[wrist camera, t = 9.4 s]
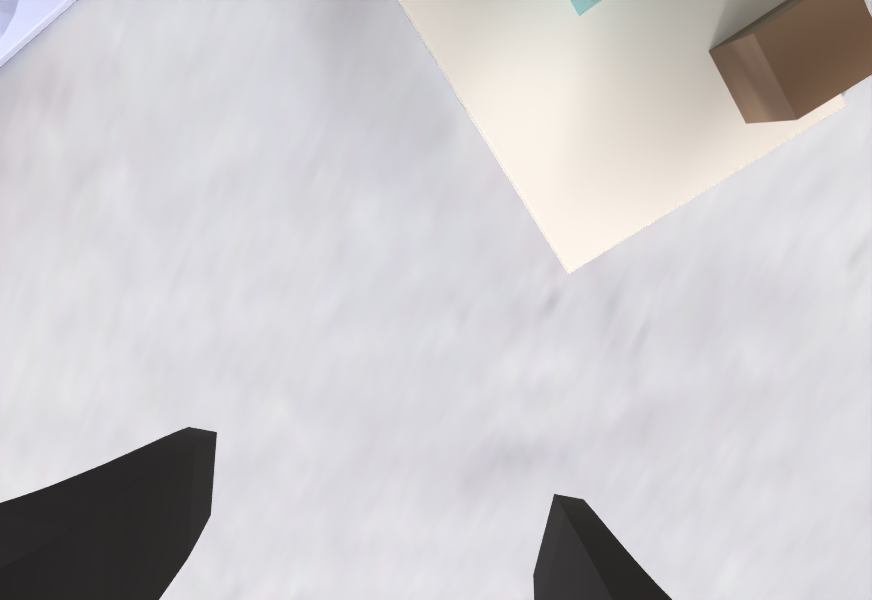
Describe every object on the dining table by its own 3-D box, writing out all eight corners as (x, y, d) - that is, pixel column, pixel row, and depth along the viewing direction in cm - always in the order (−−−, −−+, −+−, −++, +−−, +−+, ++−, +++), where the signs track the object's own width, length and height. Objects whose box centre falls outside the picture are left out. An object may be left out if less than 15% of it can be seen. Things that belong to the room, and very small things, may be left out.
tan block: (708, 51, 18) (753, 33, 15) (787, -1, 17) (850, -30, 15) (746, 123, 18) (797, 120, 16) (824, 75, 18) (891, 62, 15)
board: (354, -70, 18) (351, -76, 18) (640, -299, 16) (646, -313, 16) (565, 270, 21) (568, 273, 20) (836, 106, 19) (846, 105, 18)
